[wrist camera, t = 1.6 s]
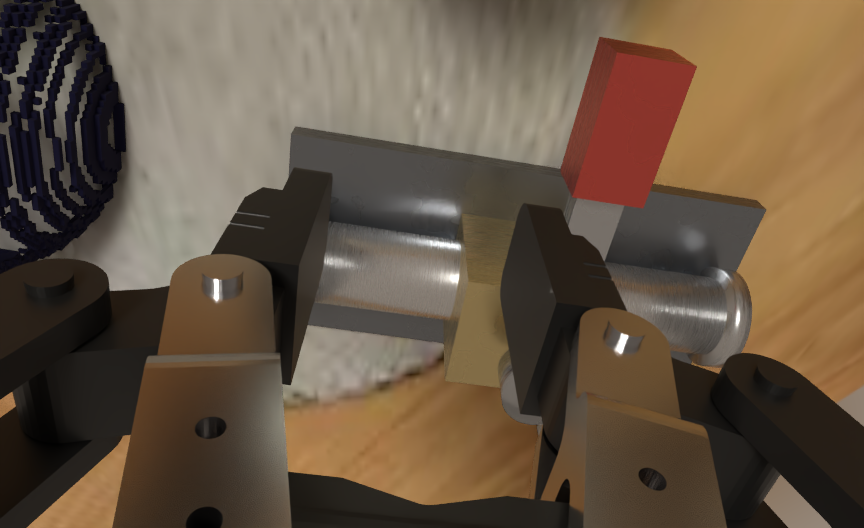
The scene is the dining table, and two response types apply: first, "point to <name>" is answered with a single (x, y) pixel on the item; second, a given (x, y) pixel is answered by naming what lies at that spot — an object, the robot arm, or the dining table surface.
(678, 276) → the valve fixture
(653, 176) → the valve lever
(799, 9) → the dining table surface
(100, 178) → the decorative bowl
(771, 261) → the dining table surface
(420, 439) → the dining table surface
